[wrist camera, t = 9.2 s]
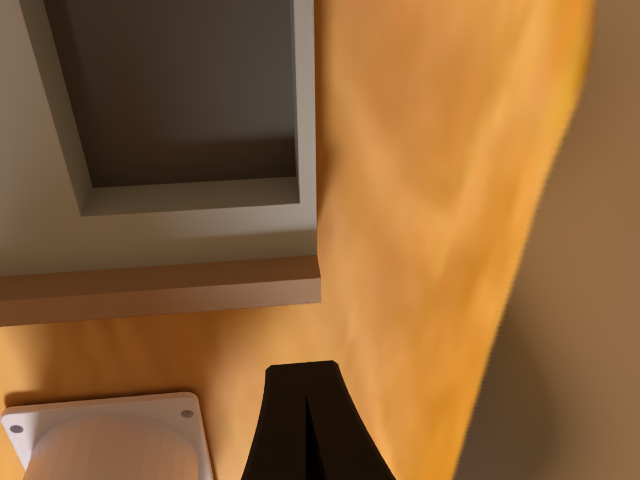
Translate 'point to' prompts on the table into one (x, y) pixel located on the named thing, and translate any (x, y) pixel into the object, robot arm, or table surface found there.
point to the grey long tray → (156, 157)
